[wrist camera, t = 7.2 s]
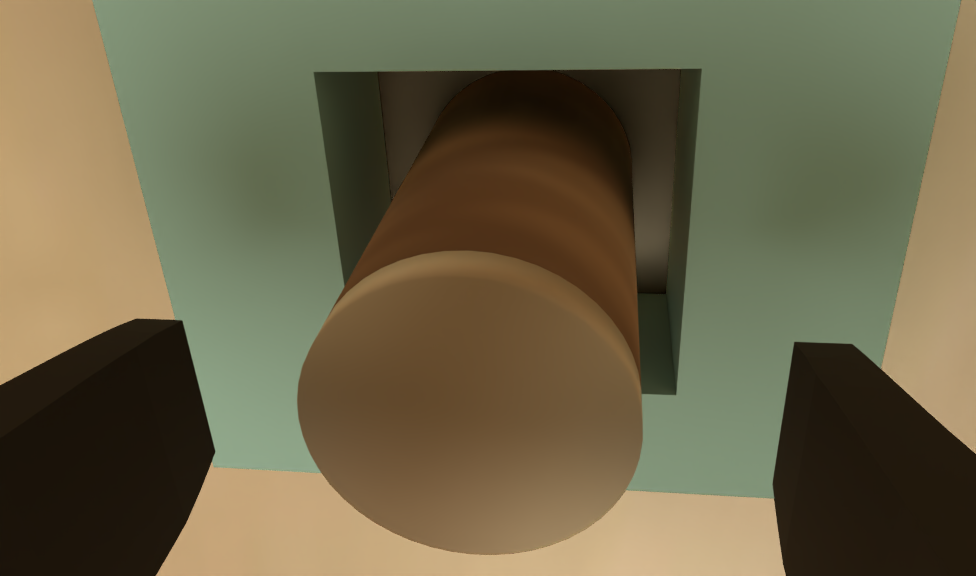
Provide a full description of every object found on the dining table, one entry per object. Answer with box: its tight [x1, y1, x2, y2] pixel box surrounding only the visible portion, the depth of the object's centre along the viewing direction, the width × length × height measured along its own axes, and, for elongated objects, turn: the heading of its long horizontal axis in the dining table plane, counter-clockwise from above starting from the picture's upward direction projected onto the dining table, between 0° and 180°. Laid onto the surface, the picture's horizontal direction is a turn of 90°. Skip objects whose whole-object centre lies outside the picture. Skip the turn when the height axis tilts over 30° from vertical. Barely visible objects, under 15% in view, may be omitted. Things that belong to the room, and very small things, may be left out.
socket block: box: [92, 0, 961, 499], centre depth 15 cm, size 12×10×4 cm
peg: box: [297, 70, 643, 555], centre depth 13 cm, size 4×4×8 cm
